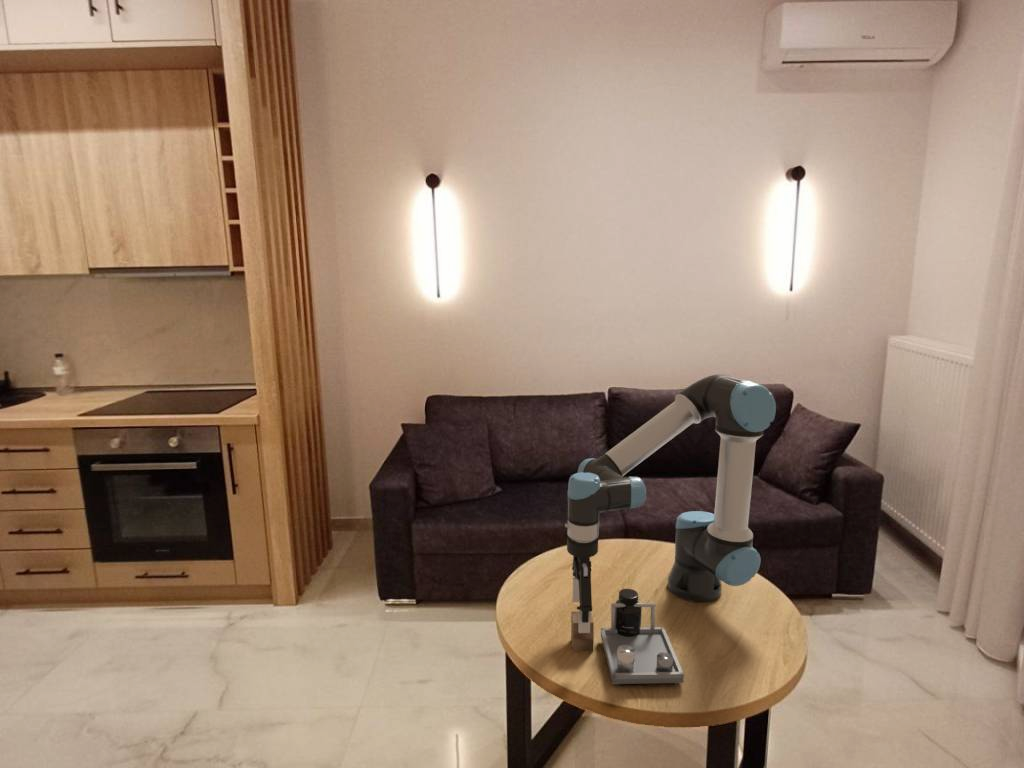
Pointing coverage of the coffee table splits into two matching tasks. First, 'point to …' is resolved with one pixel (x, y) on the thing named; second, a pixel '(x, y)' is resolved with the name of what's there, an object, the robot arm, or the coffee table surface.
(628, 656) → the silver rounded piece
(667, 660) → the silver metal dome
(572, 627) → the walnut block
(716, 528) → the robot arm
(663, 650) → the grey tray with handle
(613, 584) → the coffee table surface
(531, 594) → the coffee table surface
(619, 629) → the supplement bottle
